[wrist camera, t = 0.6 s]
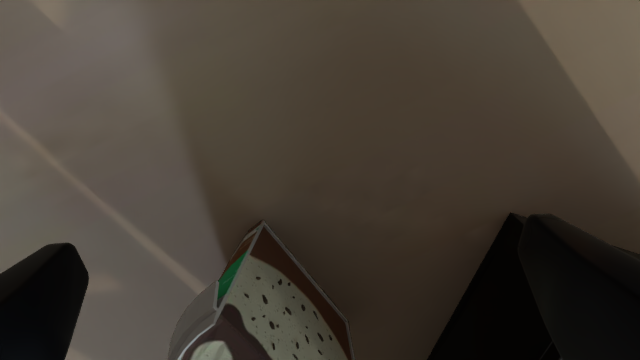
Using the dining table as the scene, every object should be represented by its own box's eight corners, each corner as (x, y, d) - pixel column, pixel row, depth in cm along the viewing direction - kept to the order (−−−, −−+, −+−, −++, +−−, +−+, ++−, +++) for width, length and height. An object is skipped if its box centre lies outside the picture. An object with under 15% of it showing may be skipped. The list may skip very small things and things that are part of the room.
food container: (170, 252, 25) (84, 387, 16) (247, 201, 24) (203, 313, 15) (288, 375, 29) (275, 541, 20) (360, 335, 28) (382, 493, 18)
